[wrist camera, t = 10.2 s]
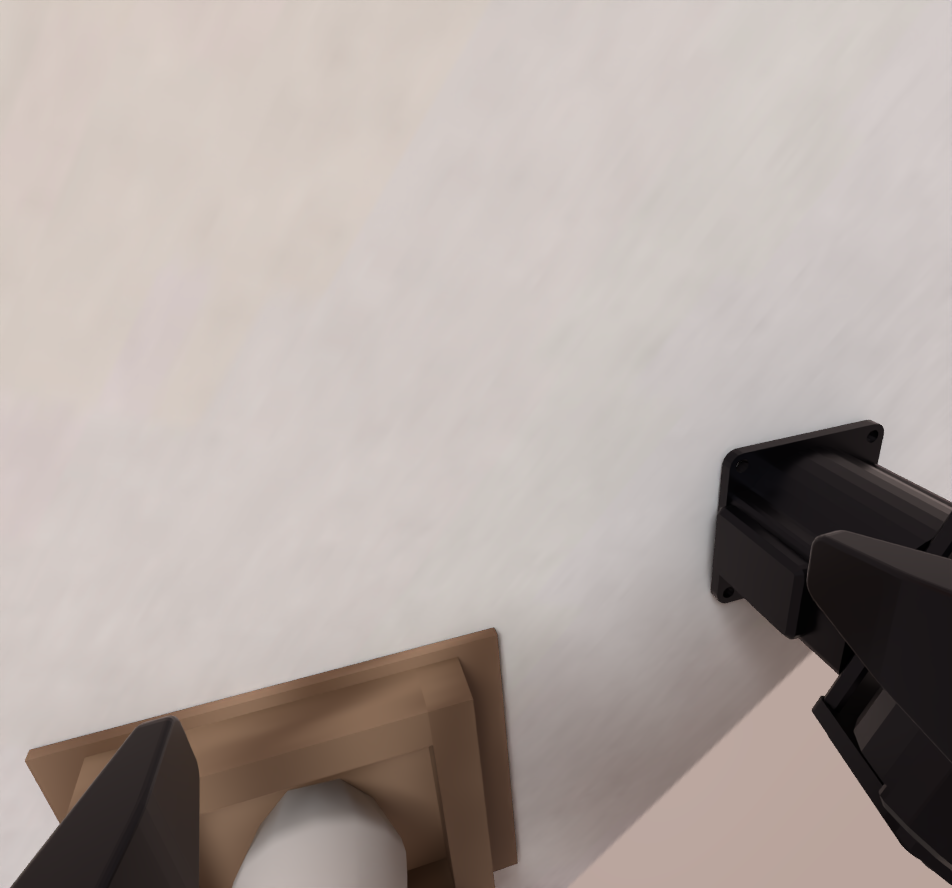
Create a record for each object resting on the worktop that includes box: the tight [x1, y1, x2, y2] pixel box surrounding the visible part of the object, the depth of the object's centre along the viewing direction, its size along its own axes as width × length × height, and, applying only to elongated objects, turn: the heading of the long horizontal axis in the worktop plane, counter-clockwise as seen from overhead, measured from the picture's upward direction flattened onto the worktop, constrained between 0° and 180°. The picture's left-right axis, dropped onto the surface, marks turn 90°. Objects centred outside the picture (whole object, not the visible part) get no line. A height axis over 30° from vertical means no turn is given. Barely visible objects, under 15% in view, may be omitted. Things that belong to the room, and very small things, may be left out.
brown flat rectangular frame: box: [25, 628, 518, 888], centre depth 23 cm, size 15×13×2 cm
